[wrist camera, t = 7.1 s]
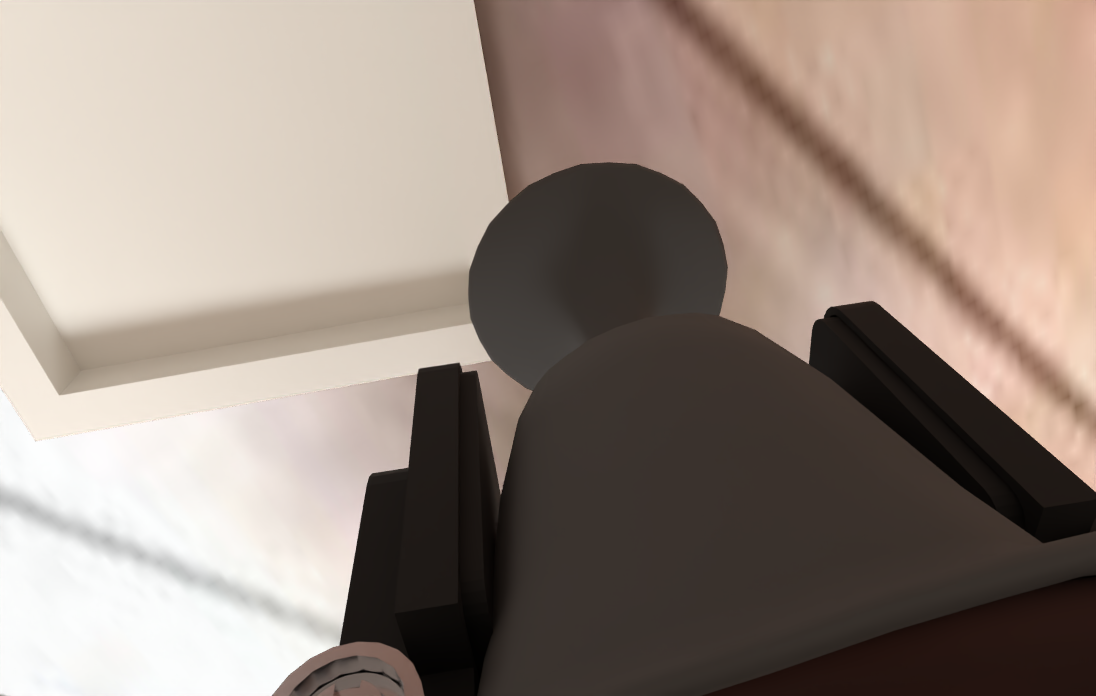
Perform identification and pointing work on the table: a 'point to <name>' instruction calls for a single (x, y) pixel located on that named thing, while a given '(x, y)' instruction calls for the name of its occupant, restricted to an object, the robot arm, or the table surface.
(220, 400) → the tray
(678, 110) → the table surface
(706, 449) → the sundae
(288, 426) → the table surface
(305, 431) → the table surface
